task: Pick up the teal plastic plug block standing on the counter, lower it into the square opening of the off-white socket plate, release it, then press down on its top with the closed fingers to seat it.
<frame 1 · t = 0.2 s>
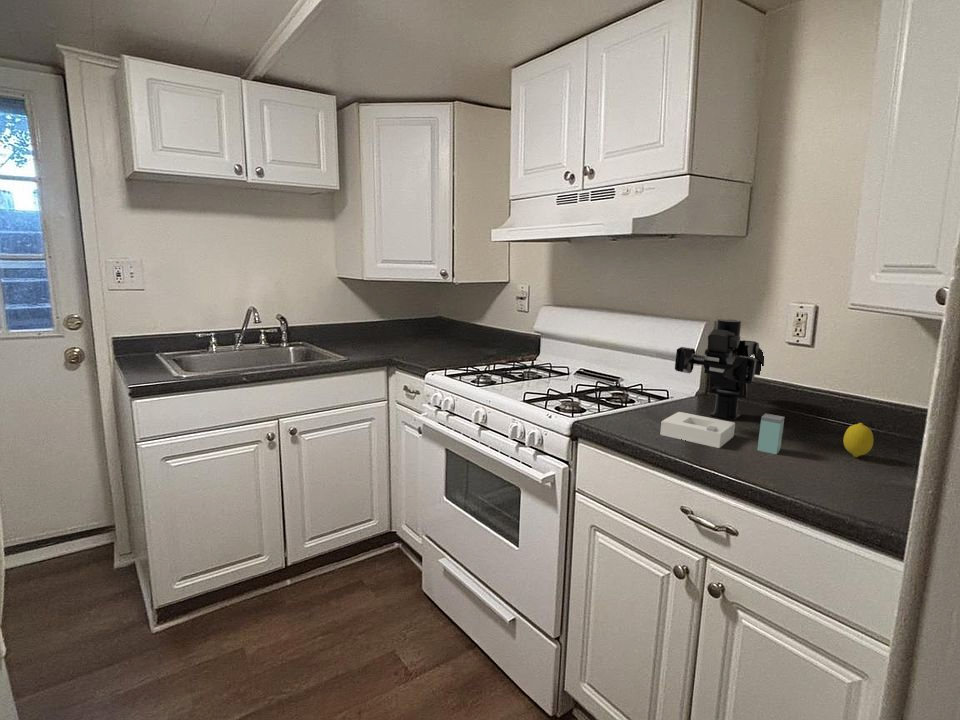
hand: (703, 370, 133), 17 cm above the table, tool horizontal, fingers open, 9 cm apart
lemon: (855, 457, 125), on the table
plug: (768, 450, 128), on the table
socket plate: (696, 435, 137), on the table
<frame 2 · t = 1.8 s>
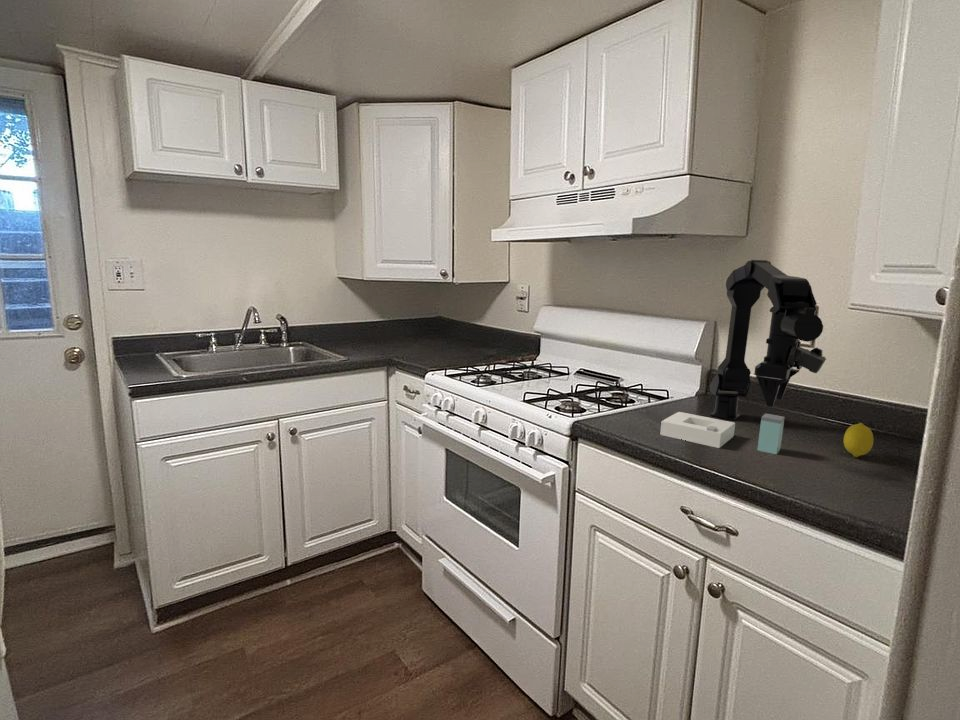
hand: (774, 402, 126), 11 cm above the table, tool pointing down, fingers open, 9 cm apart
nothing on the table moved.
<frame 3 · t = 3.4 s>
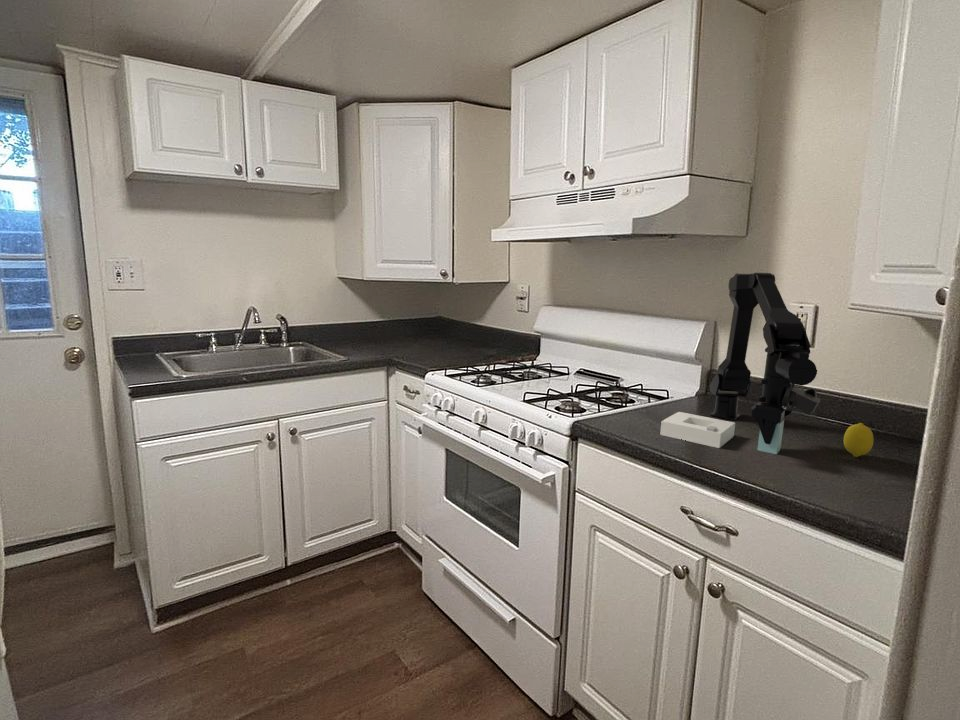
hand: (769, 441, 128), 2 cm above the table, tool pointing down, fingers closed on plug, 4 cm apart
plug: (768, 450, 128), on the table, touching gripper
everything else where it was.
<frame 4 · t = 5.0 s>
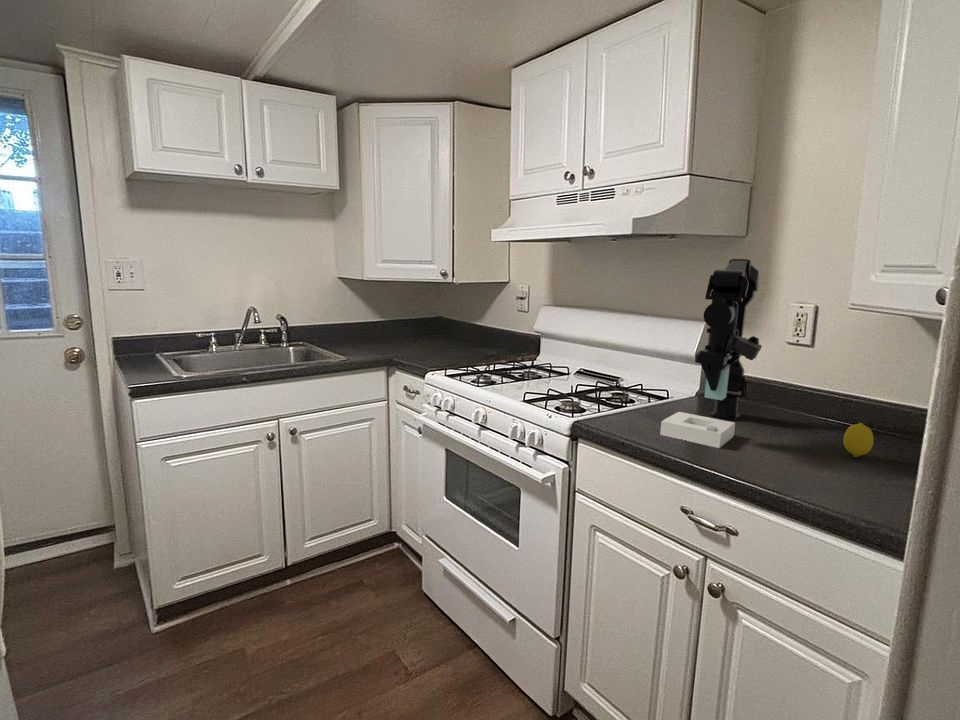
hand: (715, 389, 133), 12 cm above the table, tool pointing down, fingers closed on plug, 4 cm apart
plug: (715, 397, 134), point 10 cm above the table, touching gripper
everything else where it was.
when the fingers open (4 cm above the table, at t = 7.0 s): plug drops 2 cm, resting in socket plate.
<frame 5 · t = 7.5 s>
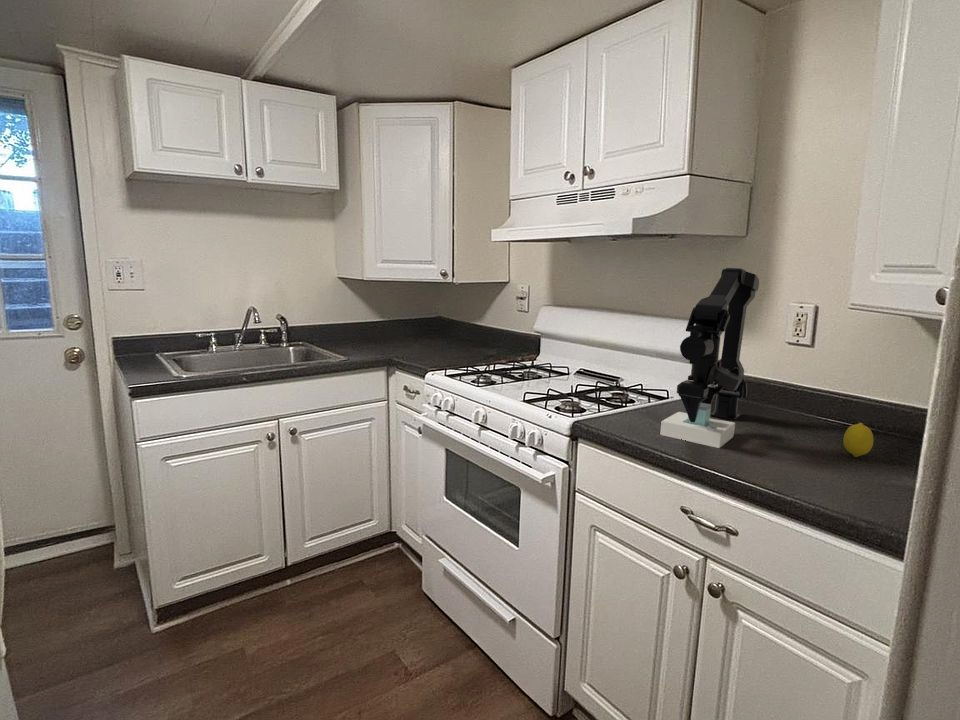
hand: (698, 418, 136), 4 cm above the table, tool pointing down, fingers open, 9 cm apart
plug: (697, 435, 137), resting in socket plate
everything else where it was.
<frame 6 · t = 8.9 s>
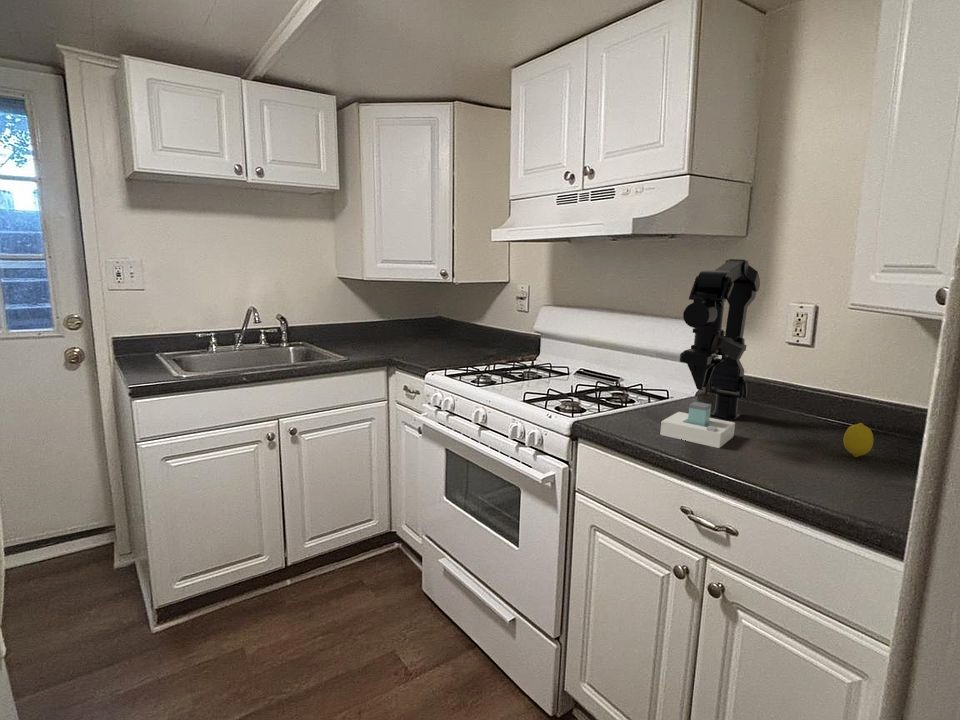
hand: (701, 388, 135), 12 cm above the table, tool pointing down, fingers open, 3 cm apart
nothing on the table moved.
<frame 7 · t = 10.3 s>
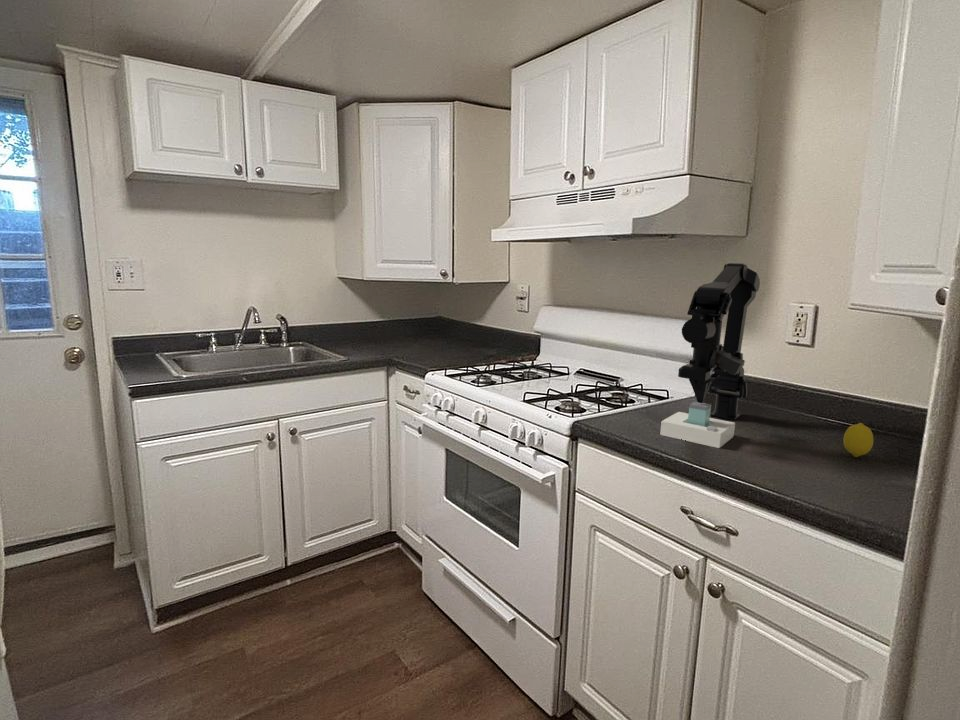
hand: (700, 402, 136), 8 cm above the table, tool pointing down, fingers closed
nothing on the table moved.
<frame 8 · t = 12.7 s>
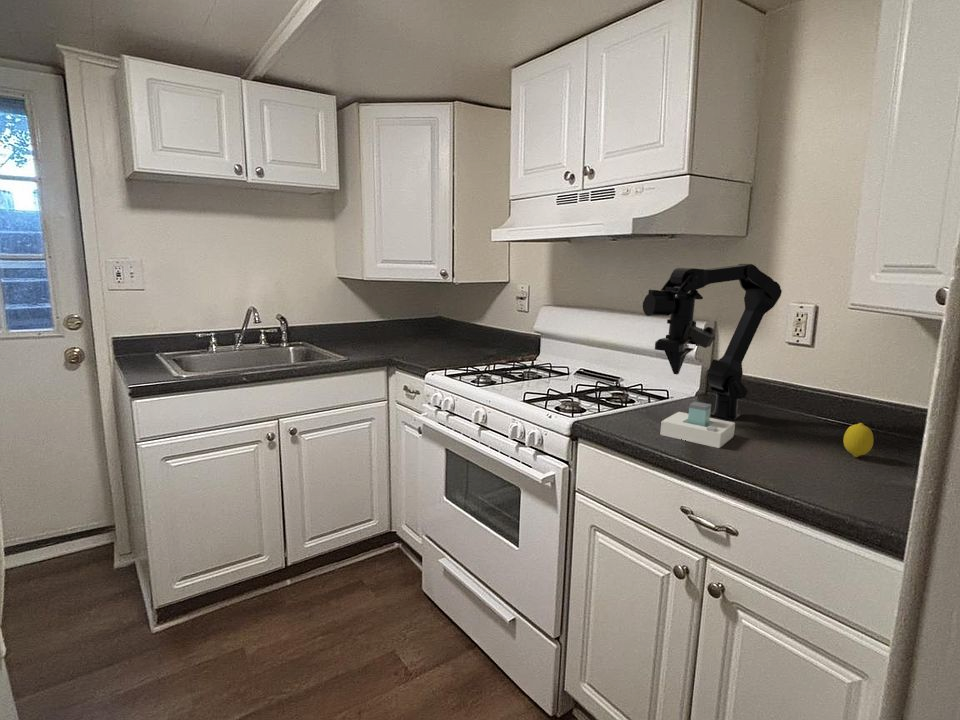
hand: (676, 374, 149), 13 cm above the table, tool pointing down, fingers closed
nothing on the table moved.
at the end: plug 0.0 cm off-centre on the socket plate, point 0.0 cm above the socket plate's base; plug tilted 0°; the gripper is holding nothing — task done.
